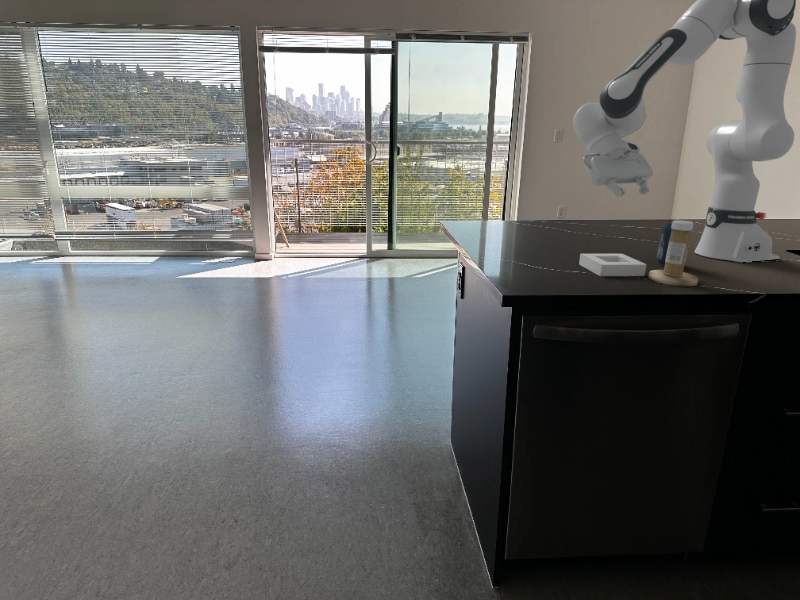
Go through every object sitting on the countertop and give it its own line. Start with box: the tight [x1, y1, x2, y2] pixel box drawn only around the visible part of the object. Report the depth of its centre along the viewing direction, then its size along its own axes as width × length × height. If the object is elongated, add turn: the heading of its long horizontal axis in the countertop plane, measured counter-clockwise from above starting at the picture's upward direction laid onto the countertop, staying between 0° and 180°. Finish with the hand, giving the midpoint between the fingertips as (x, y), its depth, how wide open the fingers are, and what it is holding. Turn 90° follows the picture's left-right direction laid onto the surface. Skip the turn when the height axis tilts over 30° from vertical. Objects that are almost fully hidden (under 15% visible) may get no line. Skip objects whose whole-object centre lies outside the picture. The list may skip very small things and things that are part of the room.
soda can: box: [656, 220, 674, 267], centre depth 140 cm, size 7×7×12 cm
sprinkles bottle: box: [663, 219, 694, 277], centre depth 124 cm, size 5×5×14 cm
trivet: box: [647, 269, 699, 287], centre depth 126 cm, size 11×11×1 cm
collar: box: [578, 253, 647, 277], centre depth 134 cm, size 12×12×3 cm
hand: (633, 194), depth 134 cm, fingers open, 8 cm apart
